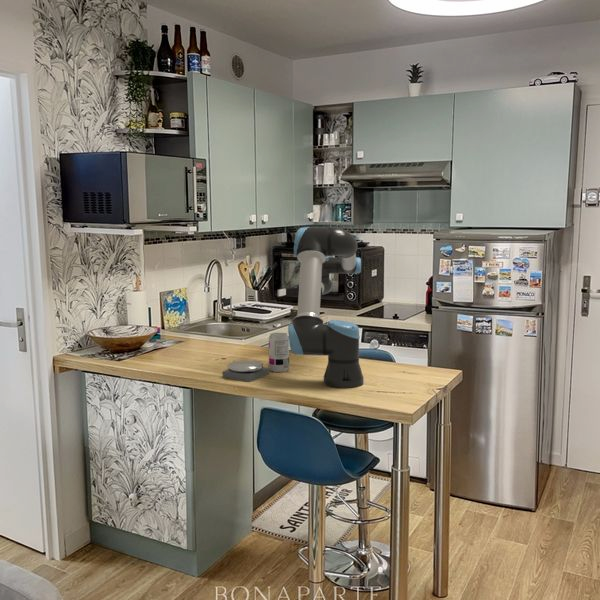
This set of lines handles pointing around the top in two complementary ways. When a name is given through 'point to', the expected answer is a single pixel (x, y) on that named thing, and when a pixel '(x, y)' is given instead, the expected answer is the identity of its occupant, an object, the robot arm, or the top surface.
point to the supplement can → (278, 352)
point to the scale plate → (245, 366)
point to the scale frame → (245, 374)
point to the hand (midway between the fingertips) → (292, 294)
